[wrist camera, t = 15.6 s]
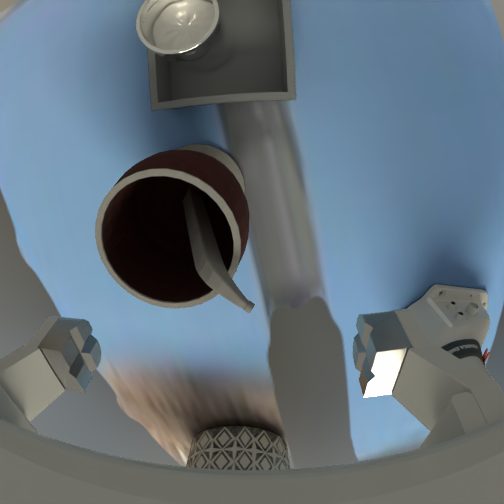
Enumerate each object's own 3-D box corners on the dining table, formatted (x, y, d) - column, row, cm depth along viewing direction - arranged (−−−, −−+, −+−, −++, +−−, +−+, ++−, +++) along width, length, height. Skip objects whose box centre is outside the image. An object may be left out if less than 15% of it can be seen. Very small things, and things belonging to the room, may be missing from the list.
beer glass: (175, 28, 30) (131, -9, 16) (232, 19, 29) (218, -27, 16) (180, 78, 33) (136, 65, 19) (237, 70, 32) (225, 48, 19)
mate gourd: (134, 208, 42) (61, 285, 24) (176, 119, 36) (105, 136, 18) (229, 259, 45) (213, 362, 27) (281, 177, 39) (303, 242, 22)
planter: (199, 458, 75) (191, 523, 55) (177, 412, 63) (161, 495, 43) (290, 458, 74) (293, 524, 54) (292, 411, 62) (299, 500, 42)
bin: (282, -7, 28) (287, -27, 22) (289, 100, 35) (296, 99, 29) (163, 5, 29) (146, -12, 22) (169, 109, 35) (151, 110, 29)
